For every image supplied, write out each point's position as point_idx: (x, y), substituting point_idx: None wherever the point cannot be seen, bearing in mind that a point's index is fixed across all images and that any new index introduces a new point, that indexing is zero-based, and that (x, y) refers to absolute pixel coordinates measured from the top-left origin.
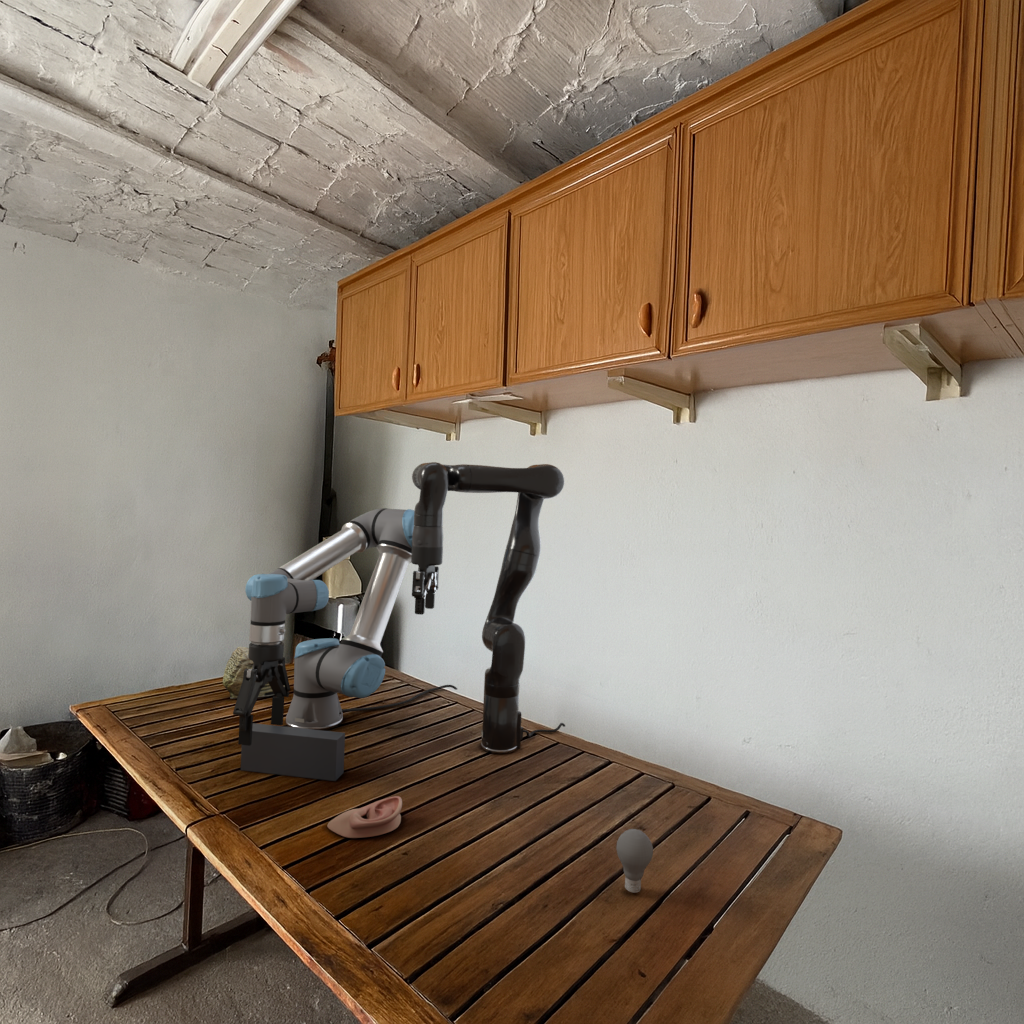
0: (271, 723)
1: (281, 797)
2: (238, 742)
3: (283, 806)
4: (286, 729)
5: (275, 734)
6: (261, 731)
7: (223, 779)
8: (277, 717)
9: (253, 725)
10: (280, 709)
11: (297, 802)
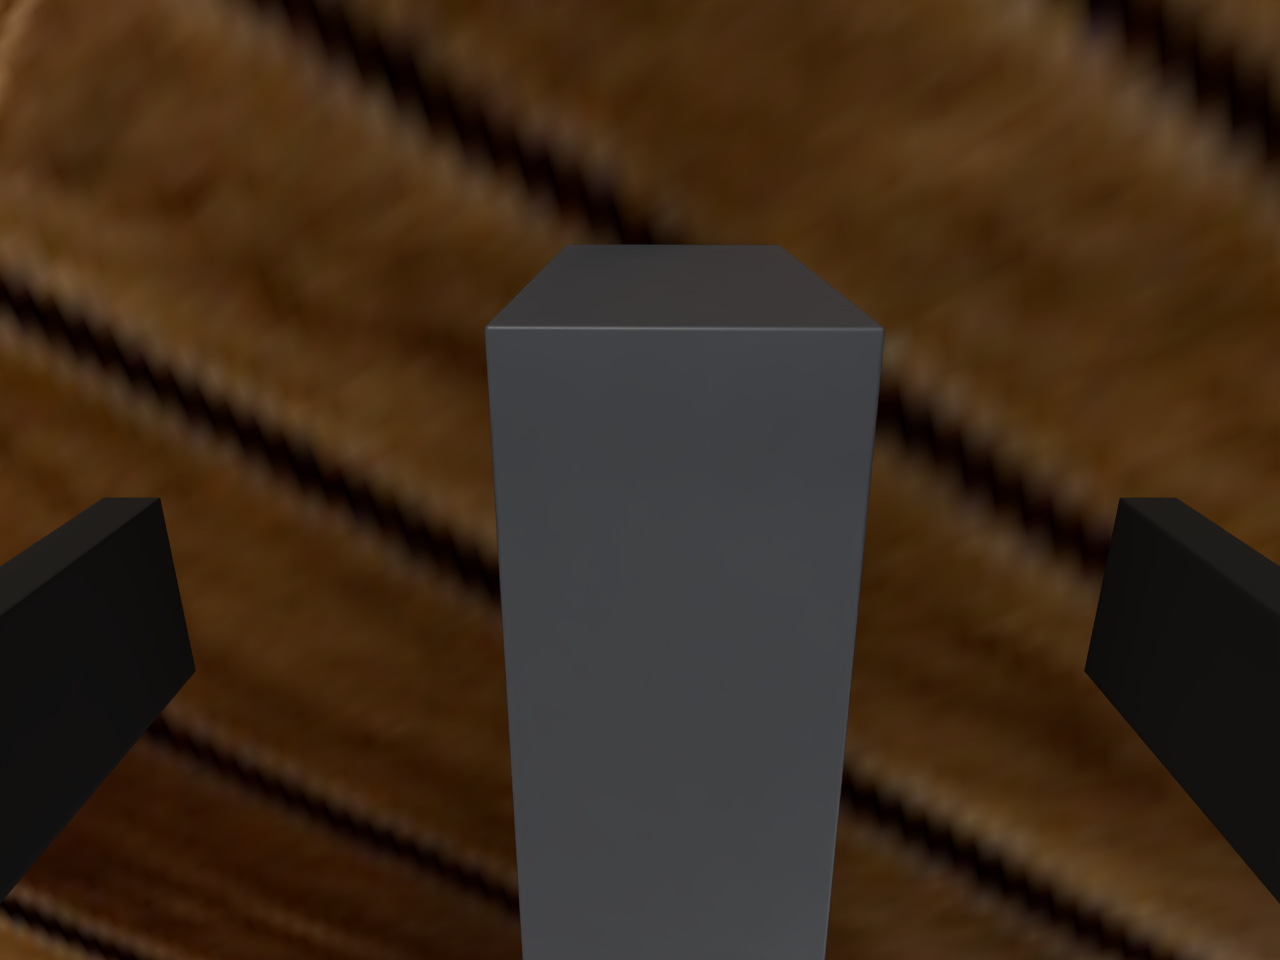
0: (1123, 516)
1: (227, 824)
2: (86, 513)
3: (119, 888)
4: (715, 956)
5: (519, 883)
6: (524, 682)
7: (322, 198)
8: (1168, 678)
9: (758, 411)
10: (1261, 841)
11: (208, 940)
